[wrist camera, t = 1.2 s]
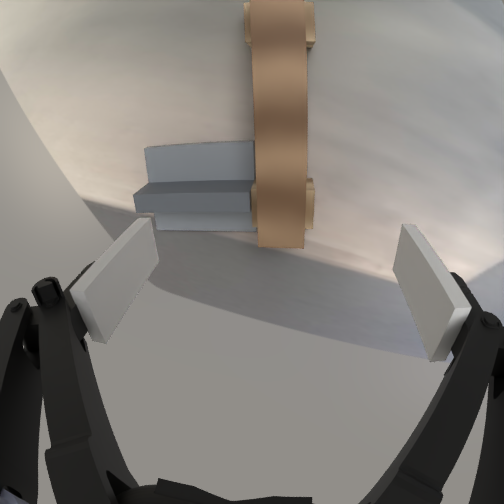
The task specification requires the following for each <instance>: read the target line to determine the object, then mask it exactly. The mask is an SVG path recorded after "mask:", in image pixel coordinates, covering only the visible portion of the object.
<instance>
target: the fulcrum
mask: <svg viewBox="0 0 504 504" xmlns="http://www.w3.org/2000/svg"><path fill="white" fill-rule="evenodd" d="M144 151H145V158H146V166H147V173H148V180H149V183H148V184H147V185H145V186H144V187H143V188H141V189H140V190H139V191H138V192H136V193H135V194H134V195H133V198H134V203H135V208H136V213H154V217H155V222H156V228H157V230H192V231H245V232H256V231H257V227H252V205H251V188H252V185H253V183H254V180H255V178H256V173H255V143H254V141H225V142H204V143H188V144H174V145H163V146H152V147H147V148H145V149H144Z"/></svg>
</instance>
